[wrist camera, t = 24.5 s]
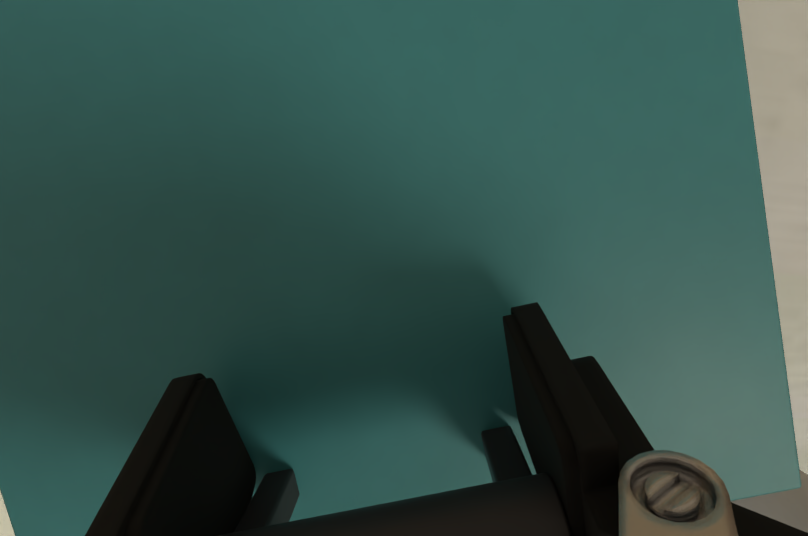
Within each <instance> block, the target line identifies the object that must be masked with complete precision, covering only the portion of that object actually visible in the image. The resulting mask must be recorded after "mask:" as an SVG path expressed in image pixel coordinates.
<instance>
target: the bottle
mask: <svg viewBox="0 0 808 536" xmlns="http://www.w3.org/2000/svg"><path fill="white" fill-rule="evenodd" d="M799 471H800V479H801V487H800V488H798V489H793V490H787V491H782V492H777V493H771V494H766V495H761V496H755V497H750V498H745V499H739V500H734V501H731V502H732V503H734V504H737V505H739V506H742V507H744V508H747V509H749V510H752V511H754V512H757V513H759V514H762V515H764V516H767V517H769V518H772V519H774V520H777V521H779V522H782V523H784V524H787V525H789V526H792V527H794V528H797V529H799V530H802V531H804V532H807V533H808V475H807V474H805V473H804V472H802V471H801V470H799Z"/></svg>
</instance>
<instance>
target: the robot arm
mask: <svg viewBox="0 0 808 536" xmlns="http://www.w3.org/2000/svg"><path fill="white" fill-rule="evenodd" d="M503 326H504V333H505V339H506V346H507V352H508V359H509V365H510V372H511V378H512V385H513V391H514V398H515V405H516V411H517V417H518V421H519V425H520V428H521V431H522V434H523V437H524V440H525V443H526V446H527V448H528V451H529V454H530V457H531V460H532V463H533V465H534V468H535V471H536V474H539V473H547V474H549V475H550V477H551V478H552V480H553V482H554V484H555V486H556V488H557V490H558V493H559V495H560V498H561V501H562V503H563V506H564V509H565V512H566V515H567V518H568V522H569V525H570V528H571V531H572V535H573V536H808V533H807V532H804V531H802V530H799V529H797V528H794V527H792V526H789V525H787V524H784V523H782V522H779V521H777V520H774V519H772V518H769V517H767V516H764V515H762V514H759V513H757V512H754V511H752V510H749V509H747V508H744V507H742V506H739V505H737V504H734V503H732V502H731V500H730V496H729V493H728V491H727V488H726V486H725V484H724V481H723V480H722V479H721V478H720V477H719V476H718V475H717V473H716V472H715V471H714V470H713V469H712V468H710V467H709V466H707V465H706V464H704V463H703V462H702V461H700V460H698V459H696V458H694V457H691V456H689V455H686V454H684V453H679V452H674V451H669V450H654V449H653V447H652V446H651V444H650V442H649V441H648V439H647V438H646V436H645V435H644V433H643V432H642V430H641V428H640V427H639V425H638V424H637V422H636V421H635V419H634V418H633V416H632V414H631V413H630V411H629V410H628V408H627V407H626V405H625V404H624V402H623V400H622V399H621V397H620V396H619V394H618V393H617V391H616V390H615V388H614V386H613V385H612V383H611V382H610V380H609V379H608V377H607V376H606V374H605V372H604V371H603V369H602V368H601V366H600V365H599V363H598V362H597V360H596V359H595V358H594V357H593V356H586V357H581V358H576V359H571V360H570V358H569V356H568V354H567V353H566V351H565V349H564V347H563V345H562V344H561V342H560V340H559V338H558V337H557V335H556V333H555V331H554V330H553V328H552V326H551V324H550V323H549V321H548V319H547V317H546V316H545V314H544V312H543V310H542V309H541V307H540V305H539V304H538V302H535V303H530V304H525V305H521V306H516V307H511V315H506V316H503ZM255 484H256V471H255V467H254V464H253V462H252V460H251V458H250V456H249V454H248V452H247V449H246V447H245V445H244V443H243V441H242V439H241V437H240V434H239V432H238V430H237V428H236V426H235V424H234V422H233V420H232V417H231V415H230V413H229V411H228V409H227V407H226V405H225V402H224V400H223V398H222V396H221V394H220V392H219V390H218V388H217V385H216V383H215V382H214V380H213V379H212V378H206V377H205V376H204V375H203V374H201V373H197V374H192V375H187V376H182V377H178V378H174V379H172V380H171V382H170V383H169V385H168V387H167V388H166V390H165V392H164V394H163V396H162V397H161V399H160V401H159V403H158V405H157V407H156V408H155V410H154V412H153V414H152V416H151V417H150V419H149V421H148V423H147V425H146V426H145V428H144V430H143V432H142V434H141V435H140V437H139V439H138V441H137V443H136V444H135V446H134V448H133V450H132V452H131V453H130V455H129V457H128V459H127V461H126V462H125V464H124V466H123V468H122V470H121V471H120V473H119V475H118V477H117V479H116V480H115V482H114V484H113V486H112V488H111V489H110V491H109V493H108V495H107V497H106V498H105V500H104V502H103V504H102V506H101V507H100V509H99V511H98V513H97V515H96V516H95V518H94V520H93V522H92V524H91V525H90V527H89V529H88V531H87V533H86V534H85V536H218V535H223V534H228V533H233V532H234V531H235V529H236V527H237V525H238V523H239V521H240V519H241V518H242V516H243V514H244V512H245V510H246V508H247V507H248V505H249V503H250V501H251V499H252V496H253V492H254V488H255Z"/></svg>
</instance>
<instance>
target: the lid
mask: <svg viewBox="0 0 808 536" xmlns="http://www.w3.org/2000/svg"><path fill="white" fill-rule="evenodd" d="M535 302H538V304H539V305H540V307H541V309H542V310H543V312H544V314H545V316H546V317H547V319H548V321H549V323H550V324H551V326H552V328H553V330H554V331H555V333H556V335H557V337H558V338H559V340H560V342H561V344H562V345H563V347H564V349H565V351H566V353H567V354H568V356H569V358H570V360H571V359H576V358H581V357H586V356H593V357H594V358H595V359H596V360H597V362H598V363H599V365H600V366H601V368H602V369H603V371H604V372H605V374H606V376H607V377H608V379H609V380H610V382H611V383H612V385H613V386H614V388H615V390H616V391H617V393H618V394H619V396H620V397H621V399H622V400H623V402H624V404H625V405H626V407H627V408H628V410H629V411H630V413H631V414H632V416H633V418H634V419H635V421H636V422H637V424H638V425H639V427H640V428H641V430H642V432H643V433H644V435H645V436H646V438H647V439H648V441H649V442H650V444H651V446H652V447H653V449H654V450H669V451H674V452H679V453H684V454H686V455H689V456H691V457H694V458H696V459H698V460H700V461H702V462H703V463H704V464H706V465H707V466H709V467H710V468H712V469H713V470H714V471H715V472H716V473H717V475H718V476H719V477H720V478H721V479H722V480H723V481H724V484H725V486H726V488H727V491H728V493H729V496H730V500H731V501H734V500H739V499H745V498H750V497H755V496H761V495H766V494H771V493H777V492H782V491H787V490H793V489H798V488H800V487H801V479H800V471H799V463H798V456H797V448H796V441H795V433H794V425H793V418H792V410H791V403H790V395H789V388H788V380H787V372H786V365H785V357H784V350H783V342H782V334H781V327H780V319H779V312H778V304H777V297H776V289H775V281H774V274H773V266H772V259H771V251H770V243H769V236H768V228H767V221H766V213H765V206H764V198H763V190H762V183H761V175H760V168H759V160H758V152H757V145H756V137H755V130H754V122H753V115H752V107H751V99H750V92H749V84H748V77H747V69H746V61H745V54H744V46H743V39H742V31H741V24H740V16H739V8H738V1H737V0H0V490H1V493H2V496H3V499H4V502H5V506H6V509H7V512H8V515H9V518H10V521H11V524H12V527H13V530H14V533H15V536H85V534H86V533H87V531H88V529H89V527H90V525H91V524H92V522H93V520H94V518H95V516H96V515H97V513H98V511H99V509H100V507H101V506H102V504H103V502H104V500H105V498H106V497H107V495H108V493H109V491H110V489H111V488H112V486H113V484H114V482H115V480H116V479H117V477H118V475H119V473H120V471H121V470H122V468H123V466H124V464H125V462H126V461H127V459H128V457H129V455H130V453H131V452H132V450H133V448H134V446H135V444H136V443H137V441H138V439H139V437H140V435H141V434H142V432H143V430H144V428H145V426H146V425H147V423H148V421H149V419H150V417H151V416H152V414H153V412H154V410H155V408H156V407H157V405H158V403H159V401H160V399H161V397H162V396H163V394H164V392H165V390H166V388H167V387H168V385H169V383H170V382H171V380H172V379H174V378H178V377H182V376H187V375H192V374H197V373H201V374H203V375H204V376H205V377H206V378H212V379H213V380H214V382H215V383H216V385H217V388H218V390H219V392H220V394H221V396H222V398H223V400H224V402H225V405H226V407H227V409H228V411H229V413H230V415H231V417H232V420H233V422H234V424H235V426H236V428H237V430H238V432H239V434H240V437H241V439H242V441H243V443H244V445H245V447H246V449H247V452H248V454H249V456H250V458H251V460H252V462H253V464H254V467H255V471H256V484H255V488H254V492H253V496H252V499H251V501H250V503H249V505H248V507H247V508H246V510H245V512H244V514H243V516H242V518H241V519H240V521H239V523H238V525H237V527H236V529H235V531H234V532H233V533H228V534H223V535H218V536H573V535H572V531H571V528H570V525H569V522H568V518H567V515H566V512H565V509H564V506H563V503H562V501H561V498H560V495H559V493H558V490H557V488H556V486H555V484H554V482H553V480H552V478H551V477H550V475H549V474H547V473H539V474H536V471H535V468H534V465H533V463H532V460H531V457H530V454H529V451H528V448H527V446H526V443H525V440H524V437H523V434H522V431H521V428H520V425H519V421H518V417H517V411H516V405H515V398H514V391H513V385H512V378H511V372H510V365H509V359H508V352H507V346H506V339H505V333H504V326H503V316H506V315H511V307H516V306H521V305H525V304H530V303H535Z"/></svg>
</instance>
